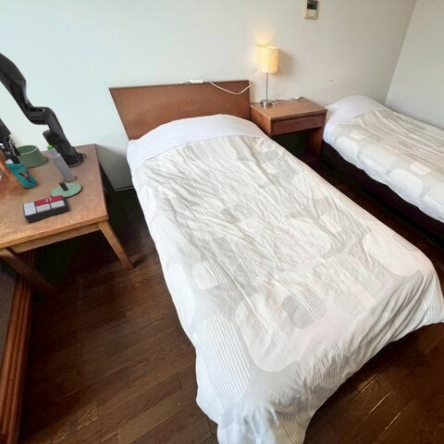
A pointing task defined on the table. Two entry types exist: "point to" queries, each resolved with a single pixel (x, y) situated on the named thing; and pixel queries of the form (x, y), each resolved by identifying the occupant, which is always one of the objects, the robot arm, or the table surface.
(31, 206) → the grey and red box
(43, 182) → the table surface
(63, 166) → the bottle
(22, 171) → the beverage can
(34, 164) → the pot
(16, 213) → the table surface
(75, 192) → the lid
